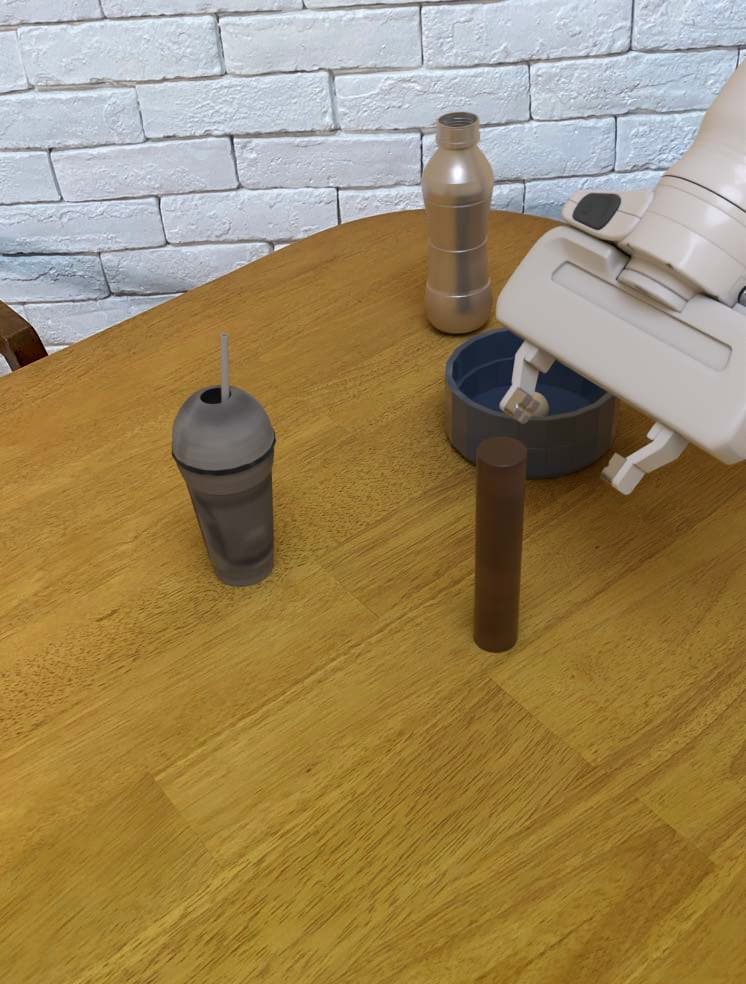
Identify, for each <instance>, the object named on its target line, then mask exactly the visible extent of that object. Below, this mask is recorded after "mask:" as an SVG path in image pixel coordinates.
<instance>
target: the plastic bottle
mask: <svg viewBox="0 0 746 984" xmlns="http://www.w3.org/2000/svg"><path fill="white" fill-rule="evenodd" d="M480 121H481V120H480V117H479V115H478V114H476V113H473V112H471V111H451V112H448V113H444V114H442V115H440V116H439V117H438V118H437V119H436V134H435V140H434V141H435V144H436V145H437V146H438V147H437V149H436V150H435V151H434V152H433V154H432V155H431V157H430V158H429V160H428V161H427V163H426V165H425V167H424V169H423V171H422V175H421V179H420V186H421V193H422V201H423V207H424V212H425V217H426V223H427V224H426V227H427V235H428V249H429V251H428V267H427V279H426V282H425V283H426V284H425V289H424V300H423V306H424V311H425V315H426V319H427V320H428V321H429V323H430V324H431V325H432V326H433V327H434V328H435V329H437V330H438V331H440V332H443V333H447V334H466V333H471V332H473V331H476V330H478V329H480V328H481V327H483V325H484V324H485V323H486V322H487V321H488V319H489V318H490V317H491V314H492V309H493V305H494V292H493V285H492V281H491V277H490V270H489V255H488V233H489V219H490V213H491V206H492V201H493V200H492V199H493V194H494V186H495V185H494V184H495V175H494V171H493V167H492V165H491V163H490V162H489V160H488V158H487V157H486V155H485V153H484V152H483V151H482V150H481V148H480V147H479V145H478V143H480V141H481V132H480Z"/></svg>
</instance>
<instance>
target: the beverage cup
mask: <svg viewBox="0 0 746 984" xmlns="http://www.w3.org/2000/svg"><path fill="white" fill-rule="evenodd" d="M219 336H220V337H219V338H220V339H219V340H220V384H214V385H210V386H207V387H203V388H200V389H199V390H197V391H195V392H194V393H192V394H191V395H190V396H189V397H187V399H186V400H184V402H183V403H182V404H181V405H180V407H179V408H178V411H177V413H176V416H175V418H174V419H173V423H172V428H171V456H172V458H173V460H174V461H175V463H176V464H175V465H176V466H177V469H178V471H179V473H180V475H181V477H182V479H183V480H184V482H185V485H186V487H187V491H188V495H189V497H190V500H191V504H192V507H193V511H194V513H195V514H194V515H195V517H196V521H197V523H198V526H199V530H200V532H201V533H200V534H201V536H202V539H203V543H204V546H205V549H206V553H207V555H208V559H209V560H210V562H211V565H212V567H213V570H214V574H215V576H216V577H217V579H218V580H219V581H221V583H223V584H225V585H228V586H232V587H248V586H253V585H254V584H258V583H261V582H262V581H263V580H265V579H267V577H268V576H269V575H270V574H271V573H272V571H273V568H274V565H275V564H274V551H275V533H274V501H273V498H274V497H273V466H274V461H275V446H276V443H277V437H276V432H275V429H274V427H273V426H272V422H271V418H270V416H269V414H268V412H267V411H266V409H265V408H264V407H263V406H262V404H261V402H259V400H258V399H257V398H256V397H255V396H253V395H252V394H251V393H250V392H248V391H246V390H244V389H242V388H240V387H237V386H233V385H230V358H229V357H230V355H229V354H230V353H229V352H230V351H229V334H228V333H226V332H222V333H221V334H219Z"/></svg>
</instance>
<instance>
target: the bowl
mask: <svg viewBox="0 0 746 984" xmlns="http://www.w3.org/2000/svg"><path fill="white" fill-rule="evenodd" d="M524 341H525V340H523V339H521V338H520V337H518V336H517V335H515V334H514V333H512V332H511V331H509V330H508V329H507V328H505V327H504V326H503V327H497V328H494V329H490V330H488V331H485V332H482V333H480V334H476V335H474V336H472V337H470V338H469V339H467V340H466V341H464V342H463V343H461V344H460V345H459V346H457V347H456V348H454V350H453V351H452V353H451V354H450V356H449V357H448V359H447V360H446V362H445V371H444V431H445V433H446V436H447V437H448V439H449V441H450V444H451V446H453V447H454V448H455V450H456V451H457V452H458V453H459V454H460V455H461V456H462V457H463V458H464V459H465V460H467V461H468V462H470V463H471V464H473V465H474V466H476V452H477V448H478V446H479V445H480V444H481V443H482V442H483V441H485V440H487V439H489V438H493V437H510V438H513V439H516V440H518V441H520V442H521V443H523V445H524V446H525V447H526V449H527V463H526V480H528V479H529V480H530V479H531V480H536V479H538V480H540V479H551V478H557V477H561V476H566V475H569V474H573V473H575V472H578V471H581V470H583V469H584V468H586V467H588V466H590V465H592V464H594V463H595V462H596V461H597V460H598V459H600V458H601V457H602V455H603V454H605V453H606V452H607V451H608V450H609V449H611V448H610V447H611V446H612V444H613V442H614V439H615V437H616V435H617V432H618V425H619V415H620V408H621V407H620V405H621V400H620V399H619V398H617V397H615V396H614V395H612V394H610V393H609V392H607V391H606V390H604V389H602V388H601V387H599V386H597V385H596V384H594V383H593V382H591V381H589V380H588V379H586V378H585V377H583V376H581V375H580V374H578V373H576V372H575V371H573V370H572V369H570V368H568V367H567V366H565V365H563V364H562V363H560V362H559V361H557V360H555V361H554V363H553V364H552V366H551V367H550V368H549V370H548V371H547V373H543V372H541V371H540V370H539V374H538V378H537V383H536V387H535V391H534V392H538V393H540V394H541V395H543V396H544V397H545V399H546V400H547V402H548V405H549V413H548V416H531V418H530V419H529V421H528V422H527V423H524V424H522V423H520V422H519V421H517V420H516V419H514V418H513V417H511V416H510V415H508V414H507V413H505V412H504V411H502V410H501V409H500V408H499V405H500V402H501V401H502V399H503V398H504V396H505V395H506V393H507V392H508V390H509V389H510V387H511V386H512V376H513V368H514V361H515V354H516V353H517V351H518V350H519V348H520V347H521V345H522V344H523V342H524Z"/></svg>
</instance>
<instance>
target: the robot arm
mask: <svg viewBox="0 0 746 984" xmlns="http://www.w3.org/2000/svg"><path fill="white" fill-rule="evenodd" d="M560 216H561V218H562V219H563V221H564V222H565V223H566V224H567V225H559V226H556V227H553V228H552V229H550V230H548V231H546V232H545V233H544V234H543V235H542V236H541V237H540V238H538V240H537V241H535V243H534V244H533V246H532V247H531V248H530V249H529V251H528V252H527V253H526V255H525V256H524V258H523V259H522V260H521V262H520V263H519V264H518V265H517V267H516V269H515V270H514V271H513V272H512V274H511V276H510V277H509V278H508V280H507V282H506V283H505V285H504V286H503V288H502V290H501V291H500V293H499V295H498V296H497V299H496V304H495V320H496V321H497V323H499V324H500V325H502V327H503V328H504V327H505V328H507V329H508V330H509V331H511V332H512V333H514V334H515V335H517V336H518V337H520V338H521V339H523V340H525V341H524V342H523V344H522V345H521V347H520V348H519V350H518V351H517V353H516V354H515V361H514V368H513V376H512V386H511V387H510V389H509V390H508V392H507V393H506V395H505V396H504V398H503V399H502V401H501V402H500V405H499V408H500V409H501V410H502V411H504V412H505V413H507V414H508V415H510V416H511V417H513V418H514V419H516V420H517V421H519V422H520V423H522V424H524V423H527V422H528V421H529V419H530V418H531V413H533V412H535V411H536V409H537V408H538V406H539V405H540V402H538V401H537V400H535V399H534V398H532V397H533V396H534V391H535V387H536V383H537V378H538V374H539V370H540V371H541V372H543V373H547V371H548V370H549V368H550V367H551V366H552V364H553V363H554V361H555V360H557V361H559V362H560V363H562V364H563V365H565V366H567V367H568V368H570V369H572V370H573V371H575V372H576V373H578V374H580V375H581V376H583V377H585V378H586V379H588V380H589V381H591V382H593V383H594V384H596V385H597V386H599V387H601V388H602V389H604V390H606V391H607V392H609V393H610V394H612V395H614V396H615V397H617V398H619V399H620V401H622V402H624V403H625V404H627V405H629V406H630V407H632V408H633V409H634V410H637V411H638V412H640V413H641V414H643V415H645V416H646V417H648V418H649V419H651V420H653V421H654V424H653V426H652V427H651V428H650V430H649V431H648V433H647V434H646V437H647V439H649V440H650V441H651V442H649V443H648V444H646V445H644V446H643V447H641V448H639V449H638V450H636V451H635V452H633V453H631V454H630V455H628V456H626V457H623V456H622V455H621V454H619V453H617V452H614V454H613V455H612V456H611V458H610V460H609V461H608V465H607V466H605V467H604V468H603V469H602V471H601V472H600V479H601V480H602V481H604V482H605V483H607V484H608V485H610V486H611V487H612V488H614V489H615V490H617V491H618V492H619V493H621V494H623V495H624V496H628V495H630V494H631V493H632V492H633V491H634V490H635V488H636V487H637V486H638V484H639V483H640V482H641V480H642V479H643V477H644V476H645V475H646V474H649V473H652V472H654V471H655V470H657V469H660V468H662V467H663V466H665V465H668V464H670V463H671V462H673V461H675V460H677V459H678V458H679V457H680V456H681V454H683V452H684V451H685V450H686V447H687V446H688V445H689V444H692V445H693V446H695V447H696V448H698V449H700V450H701V451H703V452H704V453H706V454H708V455H709V456H711V457H712V458H714V459H716V460H717V461H719V462H720V463H723V464H724V465H726V466H731V465H734V464H737V463H740V462H742V461H745V460H746V56H745V57H744V58H743V60H742V61H741V62H740V63H739V64H738V66H737V67H736V69H734V71H733V73H732V74H731V75H730V77H729V78H728V79H727V81H726V82H725V84H724V85H723V86H722V88H721V89H720V90H719V92H718V94H717V95H716V97H715V99H714V100H713V101H712V103H711V104H710V105H709V106H708V108H707V110H706V112H705V113H704V115H703V117H702V119H701V122H700V124H699V128H698V131H697V134H696V136H695V138H694V140H693V142H692V143H691V145H690V146H689V148H688V149H687V151H686V152H685V153H684V154H683V155H682V156H681V158H679V159H678V160H677V161H676V162H675V163H673V164H672V165H671V166H670V167H668V168H667V169H666V171H665V172H664V173H663V175H662V176H661V178H660V179H659V180H658V182H657V183H656V184H655V186H654V188H653V189H652V190H651V189H650V190H649V189H636V190H635V189H634V190H605V189H602V190H601V189H578V190H576V191H574V192H572V194H571V195H570V196H569V197H568V198H567V199H566V202H565V203H564V205H563V206H562V208H561V211H560Z"/></svg>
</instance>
